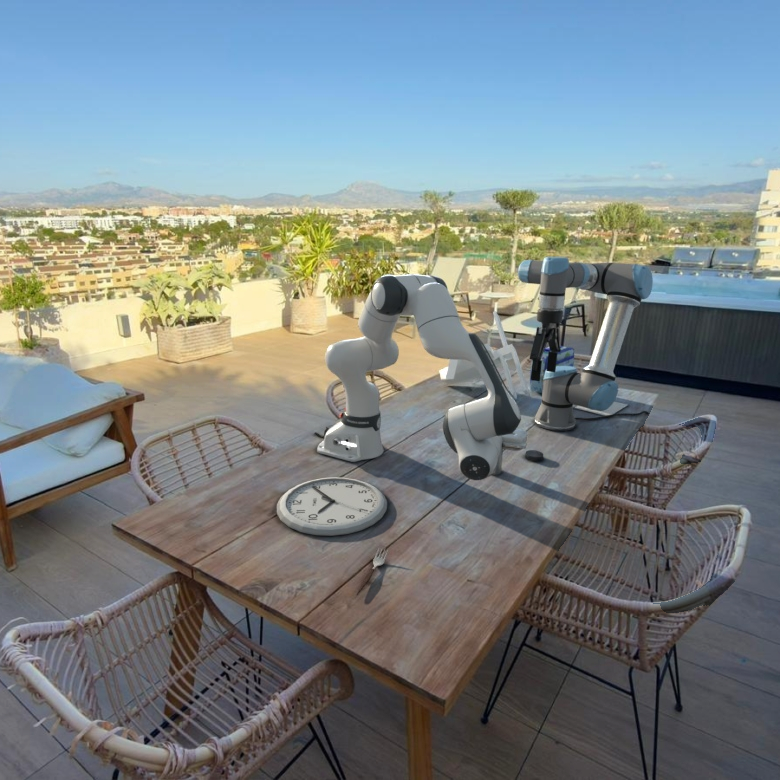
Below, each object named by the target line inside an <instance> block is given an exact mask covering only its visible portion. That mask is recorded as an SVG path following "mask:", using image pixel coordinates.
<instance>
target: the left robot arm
mask: <svg viewBox="0 0 780 780" xmlns="http://www.w3.org/2000/svg"><path fill="white" fill-rule="evenodd" d="M411 316H413V317H414V321H415V324H416V329H417V334H418V336H419V339H420V342H421V345H422V347H423V349H424V351H425V352H427V353H428V354H429V355H431V356H432V357H434V358H437V359H443V360H450V359H454V360H468V361H471V362H472V363H473V364H474V365H475V366H476V368H477V370H478V372H479V374H480V376H481V378H482V382H483V384H484V386H485V388H486V390H487V396H485V397H481V398H478V399H475V400H472V401H469V402H464V403H462V404H459V405H456V406H452V407H451V408H448V409H447V411H446V412H445V414H444V418H443V421H442V432H443V436H444V438H445V440H446V443H447V445H448V446H449V447H450V449H451V450H452V451H453V452H454V453H455V454H457V458H458V468H459V472H460V473H461V474H462V475H463V476H464V477H465V478H467V479H468V480H472V481H482V480H486V479H487V478H488V477H490V475H491V473H492V472H493V470H494V469H495V467H496V464H497V461H498V457H499V455H500V452H501V449H503V450H507V451H513V452H520V451H522V450H524V449H526V448H527V446H528V444H527V440H528V431H526V430H525V429H520V428H519V429H518V427H519V425H520V423H521V421H522V416H521V415H522V414H521V412H520V411H521V410H520V407H519V405H518V403H517V401H516V399H515V398H514V397H513V395H512V394H511V392H510V390H509V388H508V387H507V386H506V384H505V382H504V379H503V378H502V376H501V374H500V372H499V370H498V367H497V368H496V366H495V364H494V362H493V360H492V358H491V357H490V355H489V353H488V351H487V349H486V347H485V346H484V344H485V343H483V341H482V339H481V338H480V337H479V336H478V335H477V333H474V332H469V331H468V330H467V329H466V328H465V327H464V325H463V323H462V321H461V318H460V314H459V311H458V309H457V307H456V304H455V301H454V300H453V297H452V295H451V294H450V292H449V290H448V286H447V283H446V282H445V280H444V279H442V278H440V277H439V276H436V275H431V274H429V275H424V274H415V273H409V274H396V275H394V274H384V275H382V276H380V277H378V278H377V279H375V281H374V283H373V285H372V287H371V290H370V292H369V294H368V295H367V298H366V300H365V302H364V305H363V307H362V310H361V312H360V315H359V317H358V321H357V323H358V328H359V329H358V330H359V331H360V333H361V334H362V335H363V336H362V337H359V338H350V339H342V340H340V341H337V342H335V343H332V344H330V345H329V346H328V347H327V349H326V351H325V353H324V361H325V366H326V367H327V369H328V370H329V371H330V373H331V374H333V375H334V376H336V377H337V378H338V379H339V380H340V382H341V384H342V385H343V389H344V395H345V408H344V409H343V411H341V412H340V414H339V417H338V419H340V421H338V422H337V423H334V424H331V425H327V426H326V427H325V429H324V432H323V435H321V434H320V433H318V432H314V435H315V436H317V437H318V438H321V439H323V440H322V441H321V442H320V443H319V444H318V445H317V449H316V451H317V453H318V454H321V455H325V456H328V457H333V458H336V459H339V460H343V461H347V462H351V463H357V462H360V461H363V460H371V459H375V458H379V457H380V456H382V455H383V453H384V452H385V450H384V446H383V442H382V438H381V436H382V435H381V426H382V425H381V424H382V417H381V410H380V389H379V388H378V387H377V385H375V384H374V383H373V382H370V381H368V379H367V372H373V371H379V370H384V369H387V368H388V367H391V366H393V365H395V364H396V363H397V361H398V359H399V355H400V350H399V349H400V348H399V345H398V343H397V342H396V341H395V339H393V334H394V331H395V329H396V326H397V324H398V322H399V320H400V317H411Z"/></svg>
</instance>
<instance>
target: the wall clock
mask: <svg viewBox="0 0 780 780" xmlns="http://www.w3.org/2000/svg"><path fill="white" fill-rule="evenodd" d="M387 509H388V500H387V498H386V496H385V494H384V493H383V492H382V491H381V490H380V489H379V488H377V487H376V486H374V485H372V484H371V483H369V482H365V481H362V480H359V479H355V478H349V477H338V476H337V477H335V476H333V477H332V476H331V477H322V478H317V479H312V480H307V481H305V482H302V483H299V484H297V485H295V486H293V487H292V488H290V489H288V490H287V491H286V492H285V493H284V494H283V495H281V496H280V498H279V499H278V502H277V503H276V515H277V517H278V518H279V520H280V521H281V522H282V523H283V524H285V525H286V526H287V527H288V528H290V529H293V530H295V531H297V532H299V533H303V534H308V535H312V536H327V537H328V536H329V537H331V536H332V537H333V536H342V535H350V534H352V533H356V532H361V531H363V530H366V529H368V528H369V527H372V526H373V525H375V524H376V523H378V522H379V521H380V520H381V519H382V518H383V517H384V516H385V514H386V512H387Z"/></svg>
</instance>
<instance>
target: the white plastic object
mask: <svg viewBox="0 0 780 780" xmlns="http://www.w3.org/2000/svg"><path fill="white" fill-rule="evenodd" d="M492 315H493V319H494V321H495V324H496V325H495V326H496V328H497V332H498V335H499V338H500V342H501V345H502V347H500V348H498V349H496V350H495V349H493V348H492V347H491V346H490V344H489V343H488V342H487V343H483V344H484V346H485V347H486V349H487V351H488V353H489V355H490V357H491V358H492V360H493V362H494V364H495V366H496V368H497V369H498V368H499V367H500V366H502V370H503V373H504V376H505V380H506V383H507V386H508V387H507V388H508V391H509V393H510V394H511V396H512V397H513V398H514V400H517V392H516V391H517V390H516V388H515V385H514V381H513V378H512V375H511V371H510V369H509V365H508V361H510V360H513V363H514V366H515V369H516V372H517V376H518V380H519V382H520V385H521V389H522V391H523V393H524V395H525V396H526V397H528V396H531V395H530V389H529V388H528V387H529V386H528V384H527V381H526V378H525V375H524V371H523V369H522V368H523V367H522V366H521V362H520V359H519V355H518V352H517V349H516V347H515V346H514V345H513V343H511V344H508V341H507V337H506V334H505V331H504V328H503V325H502V321H501V318H500V315H499V314H498V312H497V311H496V310H495V311H492ZM438 372H439V376H440V381H442V383H443V384H444V385H445V386H449V385H458V384H467V383H468V384H469V383H473V384H477V383H480V382H483V380H482V378H481V376H480V374H479V372H478V370H477V368H476V366H475V365H474V364H473V363H472V362H471V361H468V360H454V359H449V362H448V366H446V367H444V368H442V369H440V370H439V371H438Z"/></svg>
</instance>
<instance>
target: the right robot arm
mask: <svg viewBox="0 0 780 780" xmlns="http://www.w3.org/2000/svg"><path fill="white" fill-rule="evenodd" d="M517 271H518V272H517V276H518V280H519V281H520V282H522V283H526V284H532V285H539V286H540V287H539V294H538V295H539V296H537V301H538V309H537V314H536V321H537V322H539V323H541V326H537V327H536V330H535V331H536V332H535V336H534V340H533V343H532V347H531V351H530V355H529V360H530V361H531V362H532V370H531V369H530V373H531V380H534V381H540V375H541V366H542V360H541V358H542V355H543V352H544V350H545V348H547V347H546V346H547V344H548V347H549V348H550V351H549V353H548V362H547V369H546V371H545V374H544V378H543V380H544V381H543V391H542V393H541V402H540V405H539V407H538V409H537V410H536V413H535V416H534V424H535V425H536V426H537V427H539V428H542V429H544V430H549V431H556V432H567V431H572V430H574V429H575V428H576V420H577V421H578V420H579V421H594V420H601V419H607V418H611V417H616V416H617V417H618V416H640V415H642V414H646V415H650V413H649V412H648V411H647V410H642V411H640V412H633V413H631V412H630V413H628V412H627V413H626V412H625V413H624V412H621V413H619V412H617V413H614V414H612V415H607V416H604V415H600V416H595V417H576V416H575V413H574V407H573V405H575V406H582V407H585V408H589V409H591V410H597V411H604V410H606V409H608V408H609V407H610V406H611V405H612V404H613V402H616V401H615V400H616V399H617V396H618V394H619V384H618V382H616V381H615V380H616V377H617V376H616V374H615V373H614V370H615V367H616V364H617V361H618V357H619V354H620V352H621V349H622V345H623V342H624V339H625V336H626V334H627V330H628V327H629V324H630V321H631V319H632V316H633V312H634V309H635V308H637V307H639V306H640V305H641V302H642V300H646V299H648V298H649V296H650V295H651V294H652V290H653V286H654V285H653V284H654V282H653V281H654V280H653V278H654V277H653V272H652V270H651V268H650V267H649V266H648V265H645V264H638V263H621V262H620V263H619V262H596V263H595V262H594V263H587V262H585V263H583V262H577V261H576V262H570V259H569V258H568V257H566V256H565V257H564V256H546V257H544V258H543V260H535V259H525V260H523V261H522V262H521V263H520V264H519V266H518V270H517ZM569 288H571V289H572V288H574V289H575V288H577V289H578V290H582V291H589V292H592V293H597V294H601V295H606V297H605V298H606V300H607V302H608V305H607V308H606V311H605V315H604V318H603V320H602V324H601V326H600V329H599V333H598V336H597V339H596V341H595V345H594V348H593V351H592V354H591V357H590V360H589V362H588V365H587V366H584V367H583V368H582V370H581V372H580V373H579V372H578V368H577V367H576V366H573V367H572V366H556V362H557V354H558V353H557V352H561V349H560V348H561V346H562V345H561V343H562V342H561V330H560V329H561V323H562V322H563V316H564V311H563V309H564V308H565V300H566V291H567V290H566V289H569ZM536 355H537V356H536Z"/></svg>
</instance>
